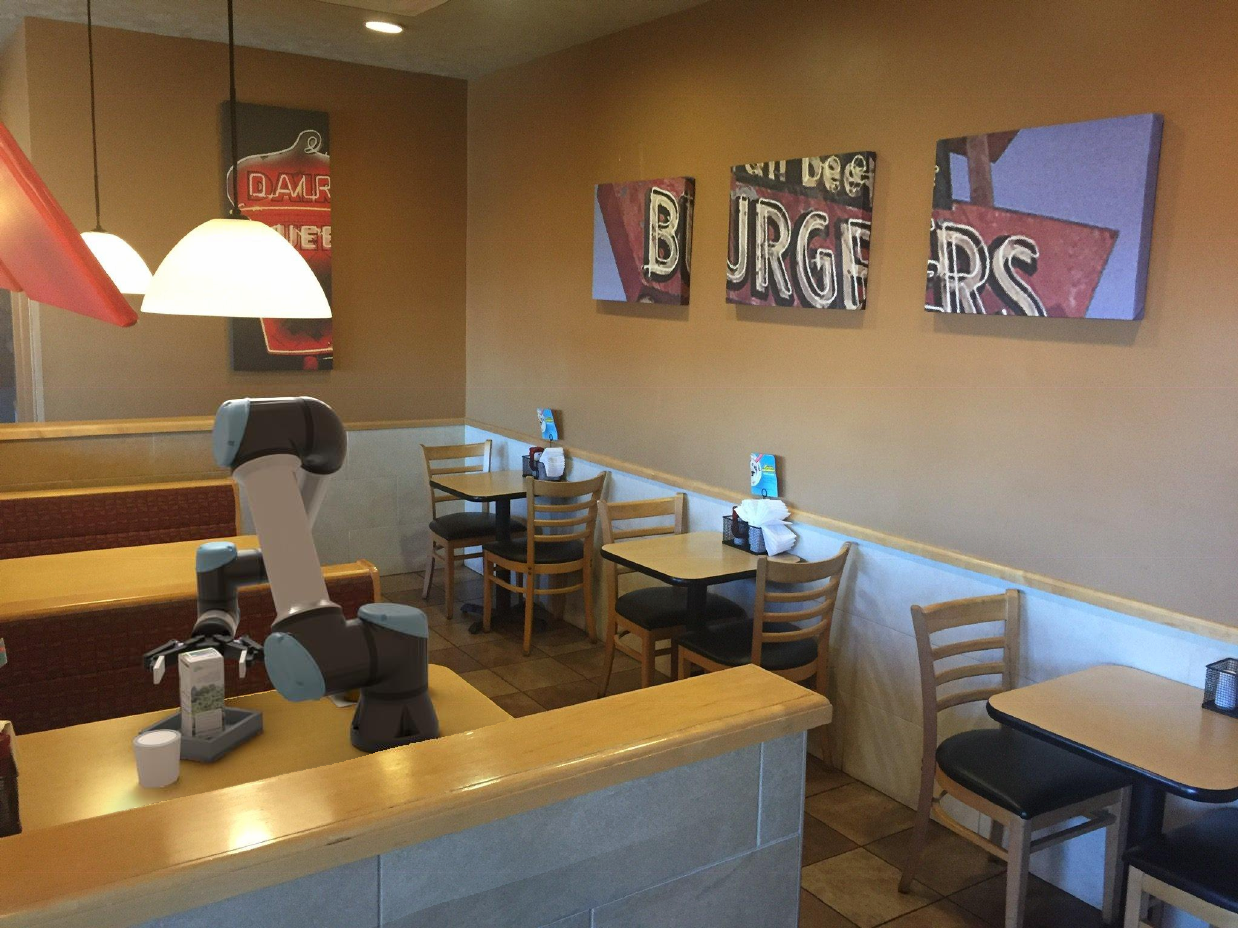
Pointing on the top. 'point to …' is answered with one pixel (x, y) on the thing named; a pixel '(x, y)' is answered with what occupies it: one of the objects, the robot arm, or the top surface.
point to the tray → (236, 732)
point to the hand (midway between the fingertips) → (199, 672)
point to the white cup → (157, 757)
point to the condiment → (346, 698)
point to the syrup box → (202, 693)
